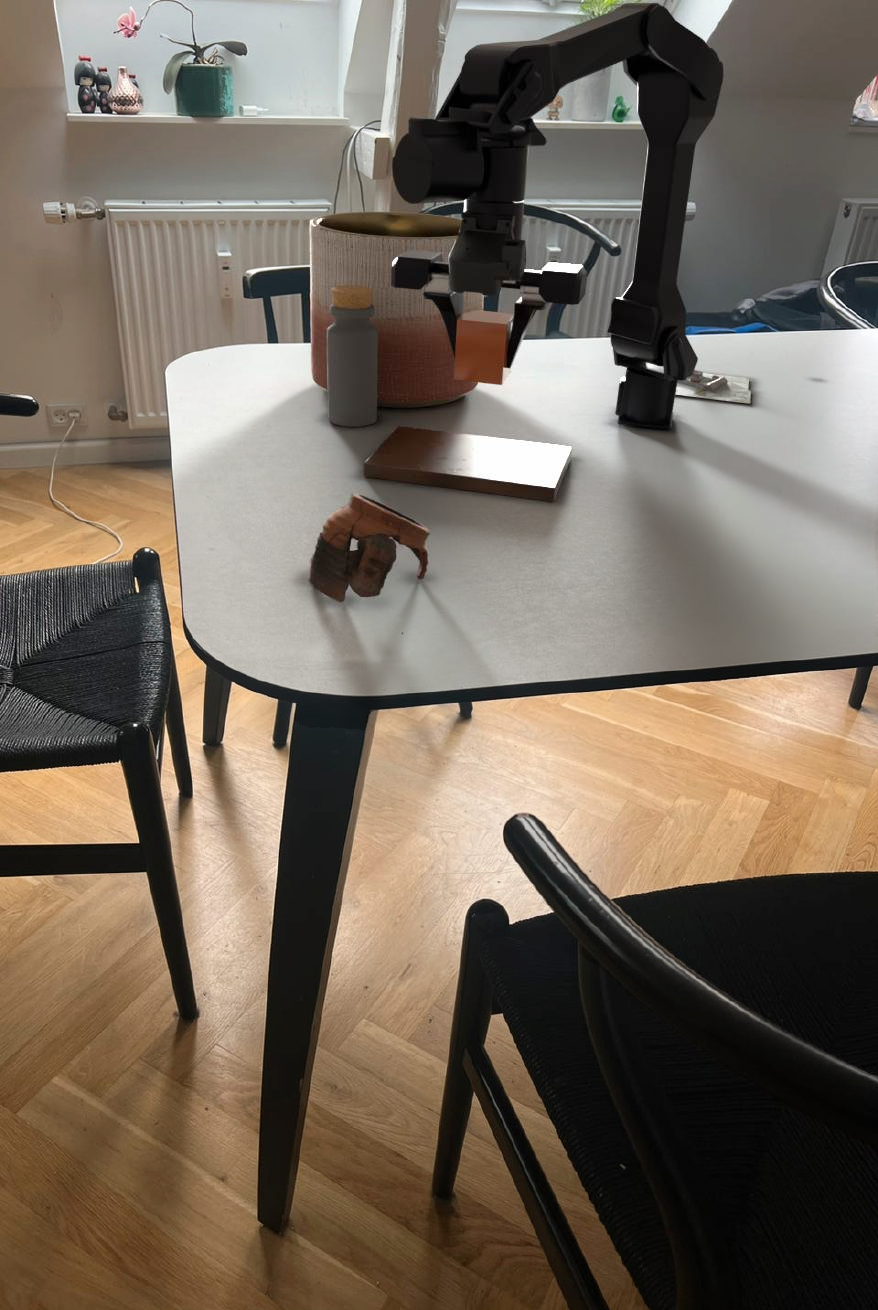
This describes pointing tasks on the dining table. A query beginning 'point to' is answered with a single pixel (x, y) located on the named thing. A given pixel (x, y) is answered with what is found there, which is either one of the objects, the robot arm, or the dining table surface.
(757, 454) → the dining table surface
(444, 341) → the planter
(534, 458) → the board
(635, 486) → the dining table surface
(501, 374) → the terracotta block
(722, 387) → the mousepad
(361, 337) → the bottle
